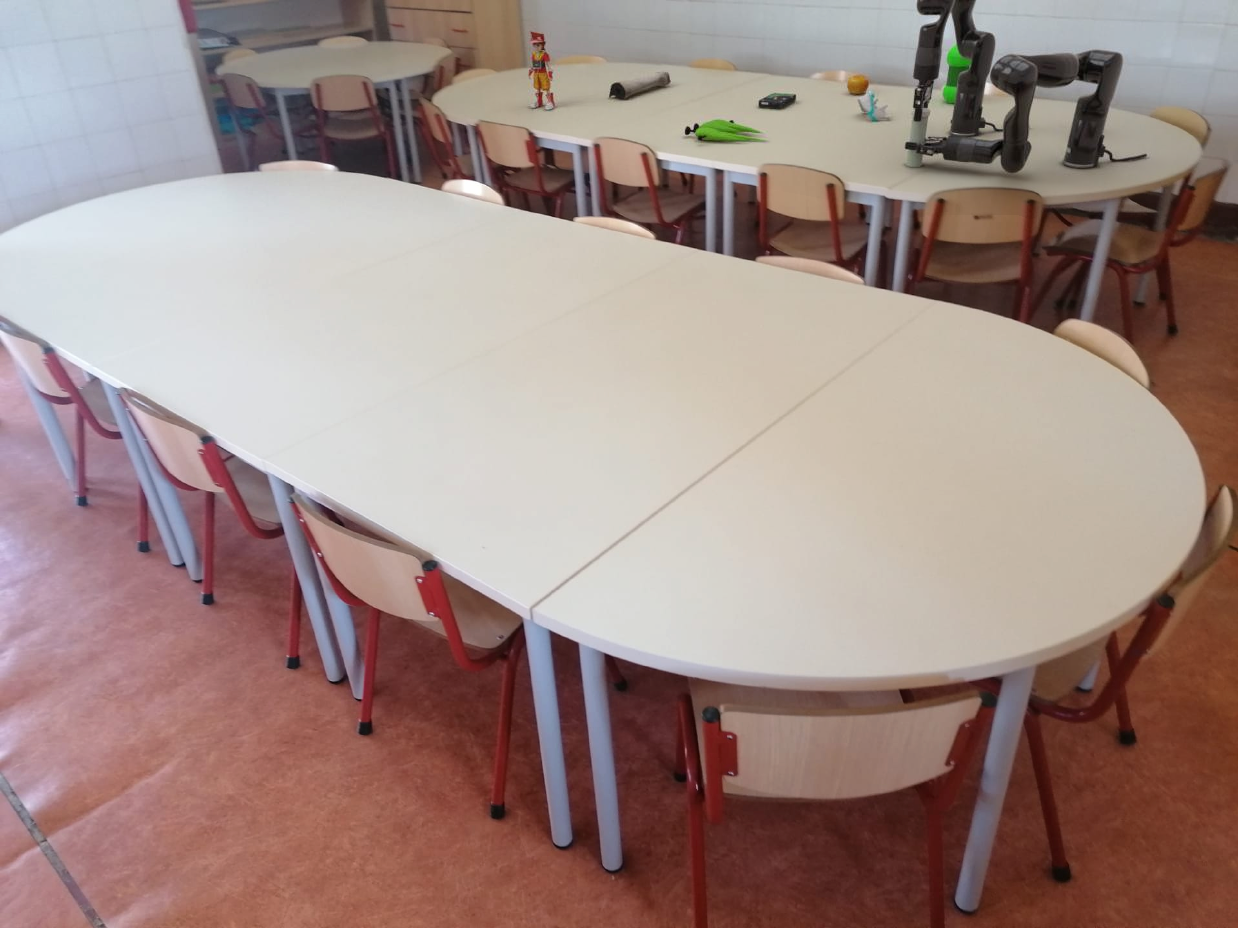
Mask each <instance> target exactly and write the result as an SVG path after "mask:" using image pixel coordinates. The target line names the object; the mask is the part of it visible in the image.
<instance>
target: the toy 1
mask: <svg viewBox="0 0 1238 928" xmlns="http://www.w3.org/2000/svg"><path fill="white" fill-rule="evenodd" d="M529 33H530V35H531V36H528V37H527V38H528V39H529V40H528V41H527V43H529V44H530V43H531V44H532V48H533V50H534V51H533V52H532V55H531V58H530V59H531V63H530V66H528V74H527V75H528V76H527V77H528V79H529V80H531V75H532V74H533V84H532V85H533V86H532V87H533V88H534V89H535V90H536V92H534V95H535V97H536V100H535V101H533V102H531V105H530V108H531V109H535V108H538V107H542V106H544V101H543V100H544V99H543V95H544V92H546V94H545V97H546V99H547V103H546V104H545V106H544V110H546V111H549V110H553V109H554V107H555V106H556V105H555V99H554V92H551V91H550V90H551V86H552V84H551V82H552V81H553V80H554V77H553V73H554V71H555V70H554V69H552V68H551V63H550V61H551V59H550V58H551V57H550V54H549V53H548V52H547V50H546V48H545V46H546V44H547V41H545V35H544V33H543V32H542V33H539V32H535V31H529Z"/></svg>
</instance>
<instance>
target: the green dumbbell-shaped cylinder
mask: <svg viewBox="0 0 1238 928" xmlns="http://www.w3.org/2000/svg"><path fill="white" fill-rule="evenodd" d="M971 61H972V60H967V59H964V58H962V57H961V56H960V55H959V52H958V49H957V43H956V44H954V45H953V46H952V47H951V48H950V49H949V50H948V52H947V54H946V63H947V64H948V69H947V70H948V71H947V76H946V77H947V78H946V84H945V85H944V87H943V90H942V97H943V99H944V100H945V101H946V102H947V103H948V104H954V103H955V96H956V90H957V83H958V77H959V74H960V73H961V72H963V71H967V70H969V68H970V65H971Z"/></svg>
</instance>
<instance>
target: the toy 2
mask: <svg viewBox="0 0 1238 928" xmlns="http://www.w3.org/2000/svg"><path fill="white" fill-rule="evenodd" d="M692 128H693V129H691V127H690V126H689V125H687V126H686V127H685V129H684V135H685V136H689V135H690V134H691V133H694V136H695V137H697V140H698V141H699V142H701V141H703V140H707V141H729V142H730V141H731V142H742V141H743V142H748V141H755V142H756V141H758V142H761V141H763V142H766V141H767V140H766V139H765V140H764V139H761V138H756V137H751V136H746V135H741V133H752V134H762V135H763V134H764V132H762V131H760V130H758V129H754V128H752V127H750V126H749V127H748V126H745V125H741V124H737V123H735V121H734V120H733V119H730V120H729V121H727V120H724V119H712V120H709V121H707V122H703V123H702V124H701V125H700V124H699V123H696V122H695V123H694V125H693V127H692Z"/></svg>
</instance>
